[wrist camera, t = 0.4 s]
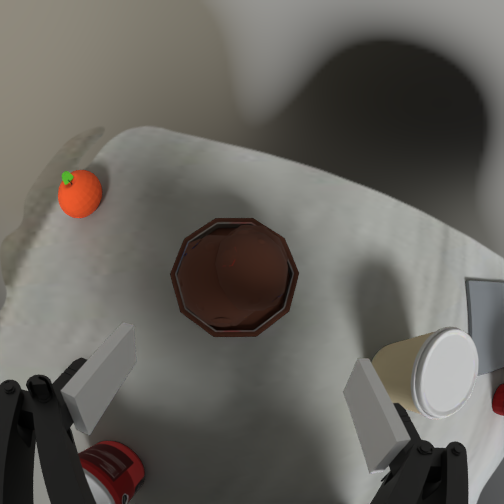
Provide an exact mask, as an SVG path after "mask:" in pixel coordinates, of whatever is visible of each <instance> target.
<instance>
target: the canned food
mask: <svg viewBox="0 0 504 504" xmlns="http://www.w3.org/2000/svg"><path fill="white" fill-rule="evenodd" d="M78 456H79V459H80V462H81V465H82V468H83V471H84V474H85V476H86V479H87V482H88V484H89V487H90V489H91V492H92V494H93V497H94V499H95V501H96V503H97V504H127V503H128V502H129V501H130V500H131V498H132V497H133V496H134V495H135V493H136V492H137V491H138V489H139V488H140V487H141V486H142V484H143V482H144V475H145V472H144V467H143V464H142V462H141V461H140V459H139V457H138V456H137V455H136V454H135V453H134V452H133V451H132V450H131V449H130V448H128V447H127V446H125V445H123V444H121V443H119V442H115V441H102V442H99V443H97V444H96V445H94V446H92V447H90V448H88V449H86V450H84V451H83V452H81V453H79V454H78Z"/></svg>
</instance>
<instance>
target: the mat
mask: <svg viewBox="0 0 504 504" xmlns="http://www.w3.org/2000/svg"><path fill="white" fill-rule="evenodd" d="M466 291H467V302H468V319H469V336H470V337H471V338H472V340H473V342H474V344H475V346H476V349H477V353H478V375H477V376H479V375H482V374H486V373H489V372H492V371H495V370H498V369H500V368H503V367H504V283H502V282H486V281H470V280H468V281H466Z"/></svg>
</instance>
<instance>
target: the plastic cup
mask: <svg viewBox="0 0 504 504" xmlns="http://www.w3.org/2000/svg"><path fill="white" fill-rule="evenodd" d="M492 408H493V411H494V412H495V413H496V414H499V415H503V416H504V384H501V385H500V386H499V387H498V388H497V390H496V392H495V394H494V398H493V403H492Z"/></svg>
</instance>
